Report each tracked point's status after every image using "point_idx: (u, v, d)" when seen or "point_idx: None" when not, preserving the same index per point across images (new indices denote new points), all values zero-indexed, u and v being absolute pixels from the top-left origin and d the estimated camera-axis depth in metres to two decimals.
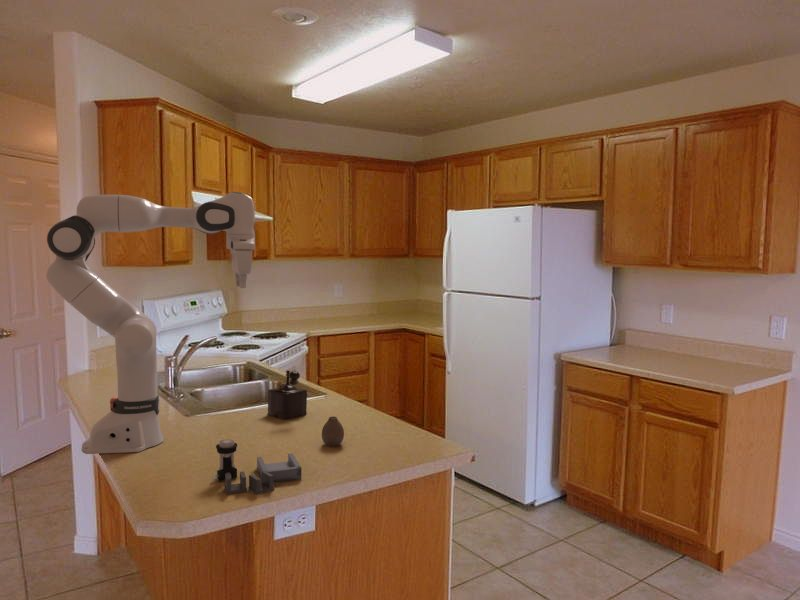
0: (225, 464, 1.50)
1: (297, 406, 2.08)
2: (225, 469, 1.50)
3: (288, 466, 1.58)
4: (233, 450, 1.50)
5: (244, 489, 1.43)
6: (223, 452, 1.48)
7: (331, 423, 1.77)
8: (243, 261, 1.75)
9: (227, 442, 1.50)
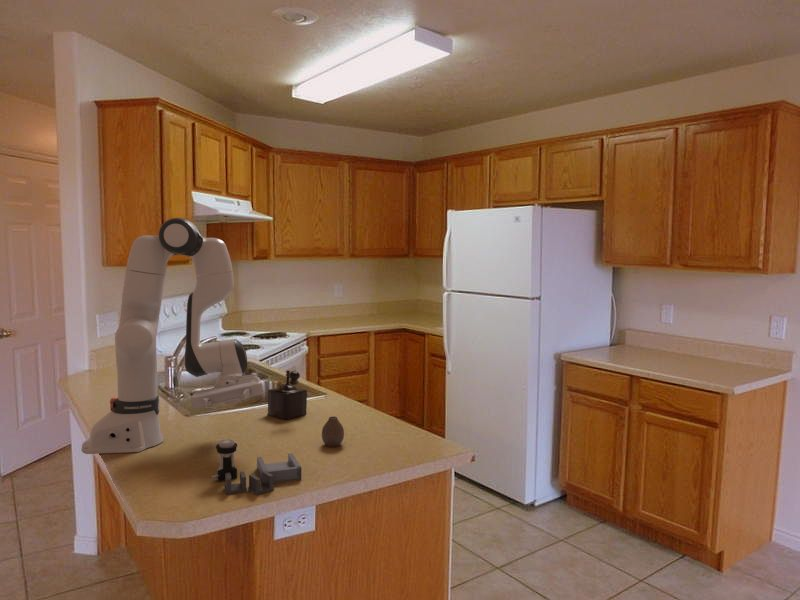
0: (225, 464, 1.50)
1: (297, 406, 2.08)
2: (225, 469, 1.50)
3: (288, 466, 1.58)
4: (233, 450, 1.50)
5: (244, 489, 1.43)
6: (223, 452, 1.48)
7: (331, 423, 1.77)
8: None
9: (227, 442, 1.50)
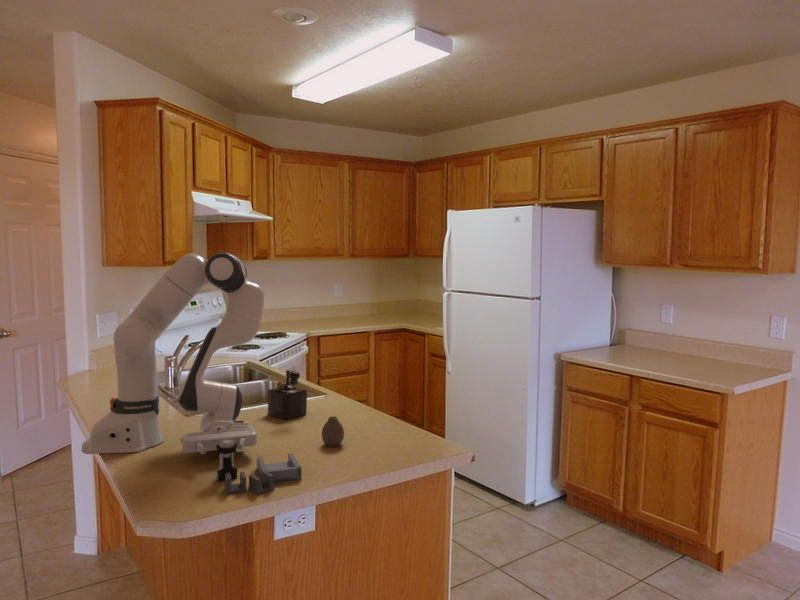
0: (225, 464, 1.50)
1: (297, 406, 2.08)
2: (225, 469, 1.50)
3: (288, 466, 1.58)
4: (233, 450, 1.50)
5: (244, 489, 1.43)
6: (223, 452, 1.48)
7: (331, 423, 1.77)
8: None
9: (227, 442, 1.50)
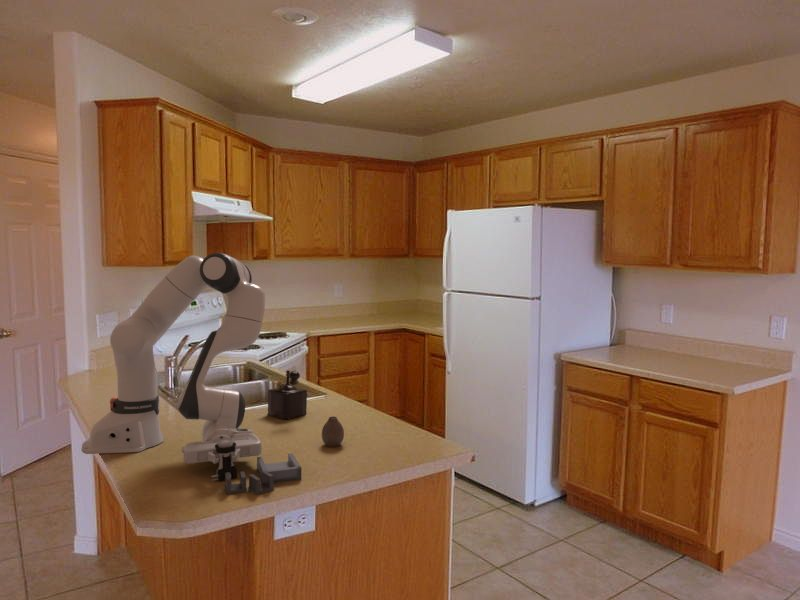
0: (224, 464, 1.50)
1: (297, 406, 2.08)
2: (225, 469, 1.50)
3: (288, 466, 1.58)
4: (232, 449, 1.50)
5: (244, 489, 1.43)
6: (222, 452, 1.48)
7: (331, 423, 1.77)
8: None
9: (226, 442, 1.50)
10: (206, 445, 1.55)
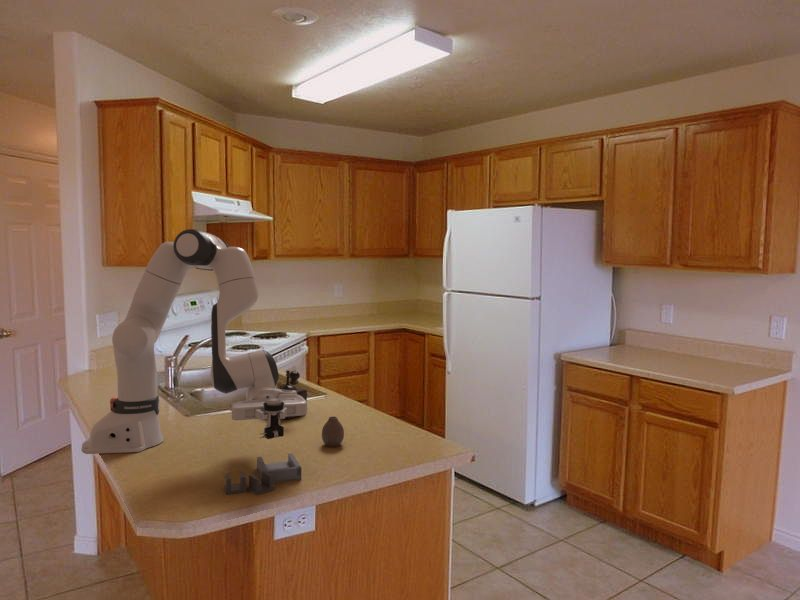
0: (273, 422, 1.51)
1: None
2: (273, 427, 1.51)
3: (288, 466, 1.58)
4: (281, 408, 1.51)
5: (244, 489, 1.43)
6: (271, 409, 1.49)
7: (331, 423, 1.77)
8: None
9: (275, 400, 1.51)
10: (253, 403, 1.56)
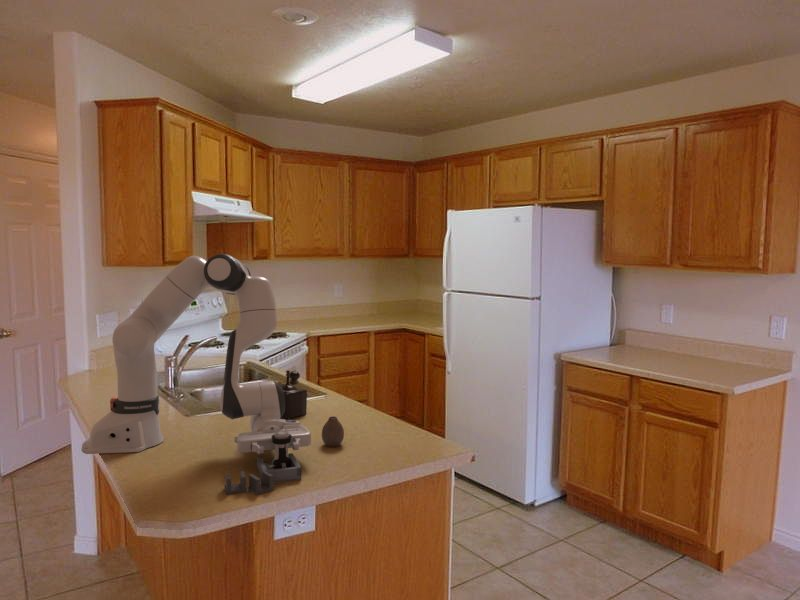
0: (280, 454, 1.55)
1: (297, 406, 2.08)
2: (281, 459, 1.55)
3: None
4: (288, 441, 1.55)
5: (244, 489, 1.43)
6: (280, 443, 1.53)
7: (331, 423, 1.77)
8: None
9: (282, 433, 1.55)
10: (258, 435, 1.60)
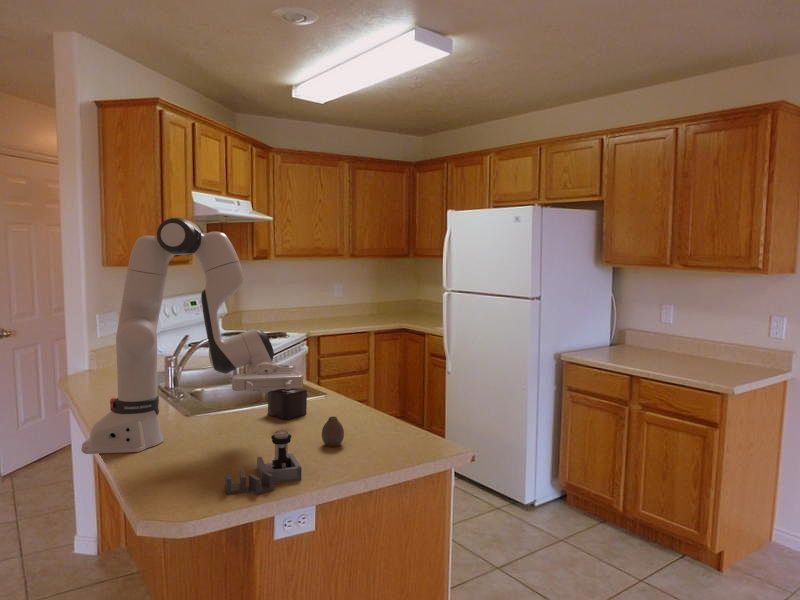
0: (280, 454, 1.55)
1: (297, 406, 2.08)
2: (281, 459, 1.55)
3: None
4: (288, 441, 1.55)
5: (244, 489, 1.43)
6: (279, 443, 1.53)
7: (331, 423, 1.77)
8: None
9: (282, 433, 1.55)
10: (252, 376, 1.66)
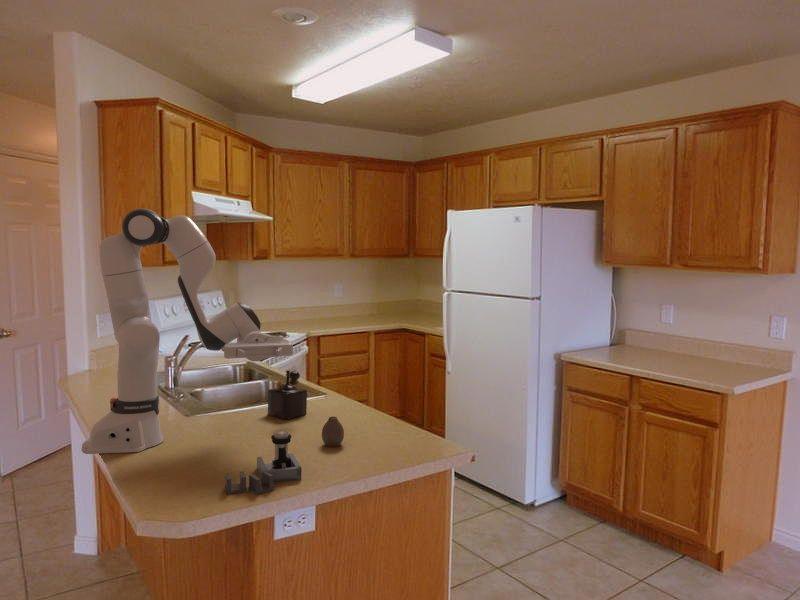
0: (280, 454, 1.55)
1: (297, 406, 2.08)
2: (281, 459, 1.55)
3: None
4: (288, 441, 1.55)
5: (244, 489, 1.43)
6: (279, 443, 1.53)
7: (331, 423, 1.77)
8: None
9: (282, 433, 1.55)
10: (244, 344, 1.72)
